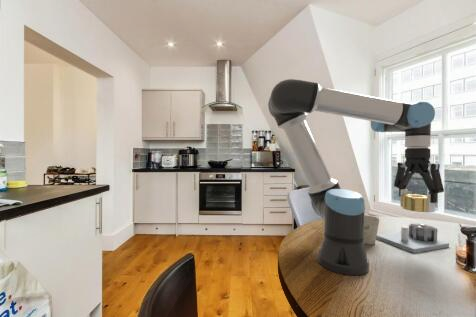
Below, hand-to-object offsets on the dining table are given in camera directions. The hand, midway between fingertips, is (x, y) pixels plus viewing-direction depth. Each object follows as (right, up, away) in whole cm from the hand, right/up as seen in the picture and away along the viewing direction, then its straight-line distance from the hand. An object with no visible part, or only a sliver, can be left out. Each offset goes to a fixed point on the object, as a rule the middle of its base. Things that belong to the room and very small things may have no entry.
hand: (416, 208), depth 88 cm
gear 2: (+10, -15, +11) cm, 21 cm away
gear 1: (0, 0, 0) cm, 0 cm away
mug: (-15, -16, +10) cm, 24 cm away
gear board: (+5, -16, +10) cm, 19 cm away
